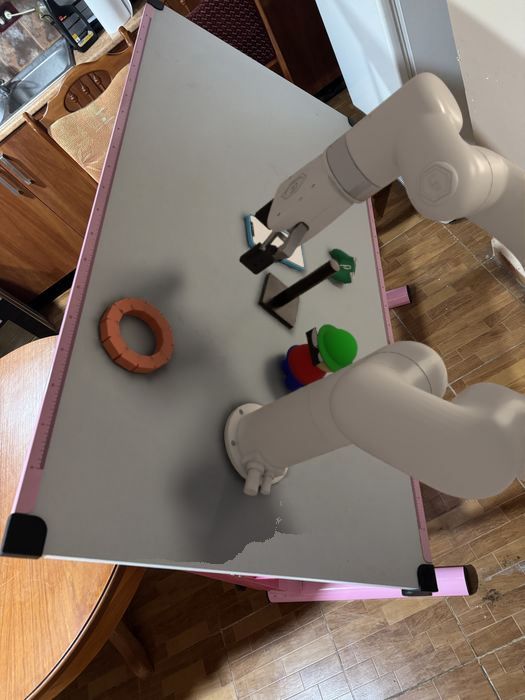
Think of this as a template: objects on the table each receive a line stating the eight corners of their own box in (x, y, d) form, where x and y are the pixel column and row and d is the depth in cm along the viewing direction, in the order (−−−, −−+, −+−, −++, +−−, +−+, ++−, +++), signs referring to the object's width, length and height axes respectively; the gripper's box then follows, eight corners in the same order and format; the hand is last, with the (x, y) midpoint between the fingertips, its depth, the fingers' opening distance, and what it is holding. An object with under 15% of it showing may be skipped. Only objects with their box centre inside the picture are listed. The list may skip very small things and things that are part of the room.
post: (290, 329, 102) (348, 295, 94) (258, 304, 99) (316, 265, 90) (296, 299, 108) (352, 264, 99) (266, 274, 104) (321, 235, 95)
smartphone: (306, 270, 113) (252, 243, 103) (302, 273, 113) (247, 247, 103) (301, 240, 116) (248, 211, 106) (296, 243, 117) (243, 215, 107)
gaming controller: (324, 285, 120) (351, 289, 119) (325, 271, 117) (353, 275, 116) (330, 260, 126) (357, 263, 125) (331, 246, 124) (359, 249, 123)
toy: (303, 407, 96) (372, 376, 86) (266, 388, 91) (335, 353, 82) (304, 364, 101) (369, 330, 92) (269, 343, 97) (334, 305, 87)
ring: (153, 386, 76) (161, 382, 75) (88, 344, 71) (95, 339, 70) (175, 331, 83) (182, 326, 81) (116, 290, 78) (123, 284, 77)
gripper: (340, 110, 68) (248, 189, 79) (322, 187, 57) (218, 267, 68) (378, 153, 71) (285, 224, 82) (369, 234, 60) (262, 303, 71)
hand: (255, 243), depth 75 cm, fingers open, 9 cm apart
